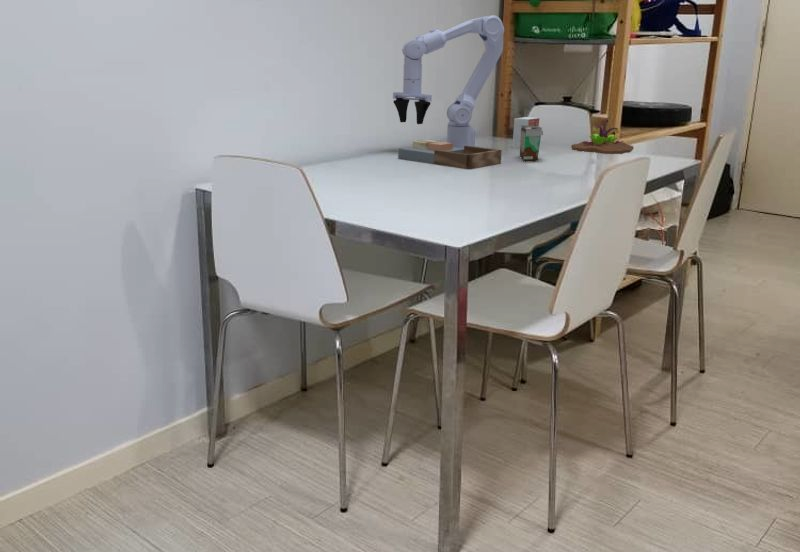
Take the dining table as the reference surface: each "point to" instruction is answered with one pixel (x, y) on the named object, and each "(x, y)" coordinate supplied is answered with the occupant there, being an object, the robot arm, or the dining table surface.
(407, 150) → the bench plate
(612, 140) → the plant
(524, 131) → the food container
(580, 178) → the dining table surface
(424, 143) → the birch tile
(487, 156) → the tray
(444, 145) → the terracotta tile
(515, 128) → the small box
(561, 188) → the dining table surface
